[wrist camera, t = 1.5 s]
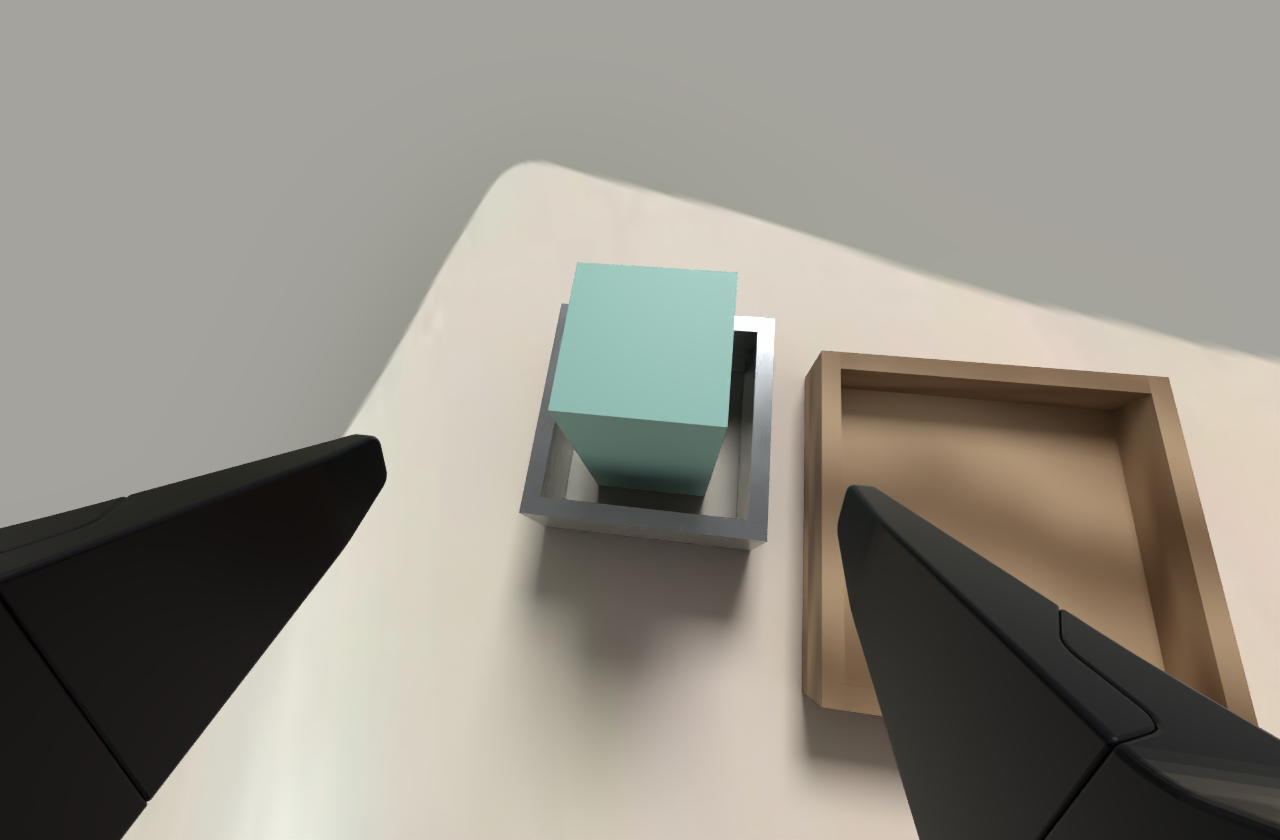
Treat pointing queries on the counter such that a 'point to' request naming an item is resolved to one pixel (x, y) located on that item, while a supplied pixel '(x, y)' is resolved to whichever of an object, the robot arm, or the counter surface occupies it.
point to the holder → (742, 533)
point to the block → (646, 374)
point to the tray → (1019, 505)
